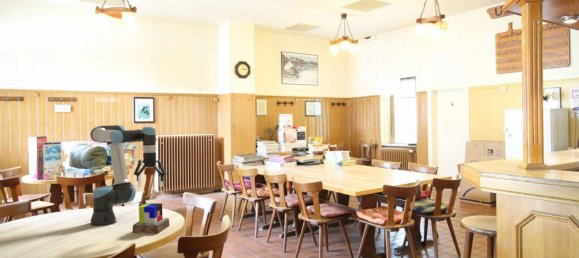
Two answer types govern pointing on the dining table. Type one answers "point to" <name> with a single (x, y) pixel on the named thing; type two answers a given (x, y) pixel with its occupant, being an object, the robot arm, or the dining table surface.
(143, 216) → the puzzle toy
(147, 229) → the walnut base
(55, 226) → the dining table surface
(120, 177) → the robot arm
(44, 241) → the dining table surface
